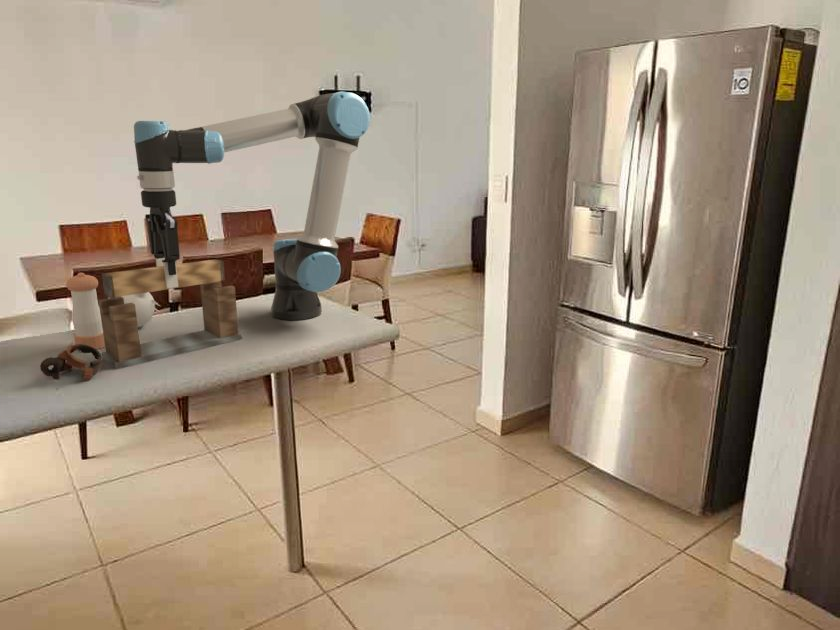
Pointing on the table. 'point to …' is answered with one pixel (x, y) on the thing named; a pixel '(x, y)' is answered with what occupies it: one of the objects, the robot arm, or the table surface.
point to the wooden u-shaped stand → (129, 351)
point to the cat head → (142, 306)
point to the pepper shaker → (86, 311)
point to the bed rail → (161, 278)
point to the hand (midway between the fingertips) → (168, 285)
